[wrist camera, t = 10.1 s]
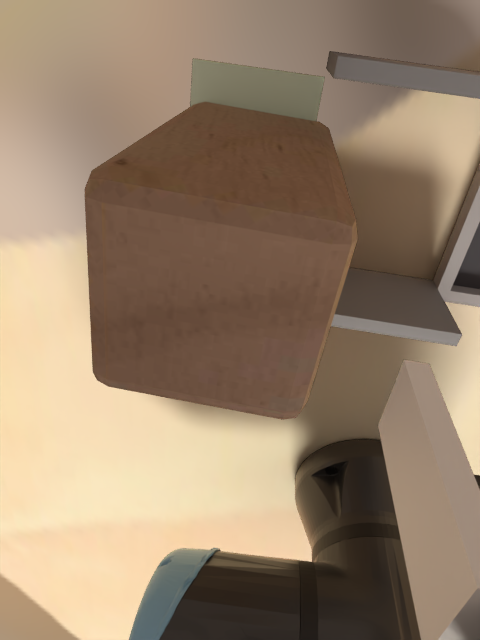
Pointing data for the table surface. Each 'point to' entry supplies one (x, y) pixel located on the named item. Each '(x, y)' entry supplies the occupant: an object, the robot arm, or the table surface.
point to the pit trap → (463, 254)
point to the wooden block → (218, 259)
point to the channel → (389, 289)
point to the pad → (256, 89)
